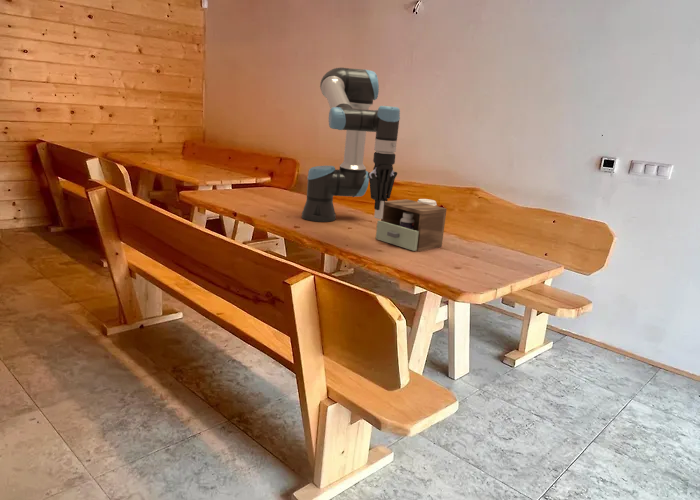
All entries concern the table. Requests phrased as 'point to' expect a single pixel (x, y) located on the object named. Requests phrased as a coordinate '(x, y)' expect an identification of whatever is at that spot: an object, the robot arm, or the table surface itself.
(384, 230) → the drawer
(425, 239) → the housing
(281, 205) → the table surface
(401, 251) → the table surface
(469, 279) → the table surface
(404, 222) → the pill bottle
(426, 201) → the coffee cup
